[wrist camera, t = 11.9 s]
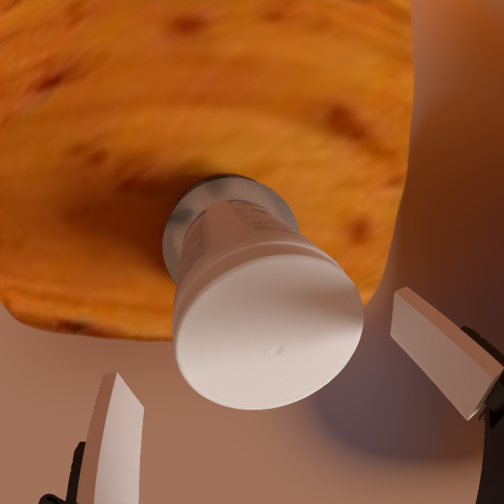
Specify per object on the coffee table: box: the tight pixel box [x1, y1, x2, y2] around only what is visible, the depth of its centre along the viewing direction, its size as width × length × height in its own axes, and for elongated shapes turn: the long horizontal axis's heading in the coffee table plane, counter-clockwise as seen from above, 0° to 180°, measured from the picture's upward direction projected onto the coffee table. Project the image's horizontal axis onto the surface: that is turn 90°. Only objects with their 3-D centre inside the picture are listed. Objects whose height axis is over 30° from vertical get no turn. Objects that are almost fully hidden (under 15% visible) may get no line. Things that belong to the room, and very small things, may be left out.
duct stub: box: [163, 174, 299, 284], centre depth 28 cm, size 13×13×5 cm
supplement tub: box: [172, 199, 364, 410], centre depth 18 cm, size 10×10×15 cm
